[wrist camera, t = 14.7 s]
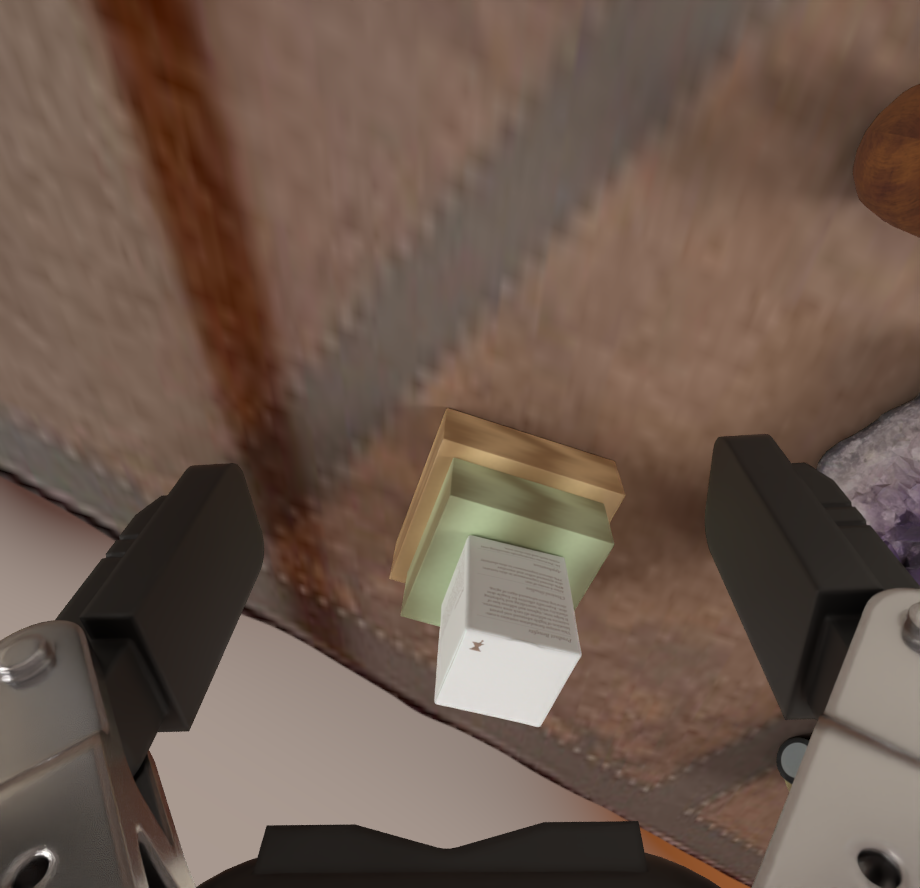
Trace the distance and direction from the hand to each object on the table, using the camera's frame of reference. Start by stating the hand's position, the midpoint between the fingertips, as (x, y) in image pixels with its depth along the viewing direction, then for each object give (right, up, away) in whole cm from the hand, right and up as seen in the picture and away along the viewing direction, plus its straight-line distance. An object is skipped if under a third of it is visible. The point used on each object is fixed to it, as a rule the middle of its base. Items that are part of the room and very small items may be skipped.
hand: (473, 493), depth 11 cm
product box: (+2, -7, +28) cm, 29 cm away
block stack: (+3, -3, +35) cm, 35 cm away
